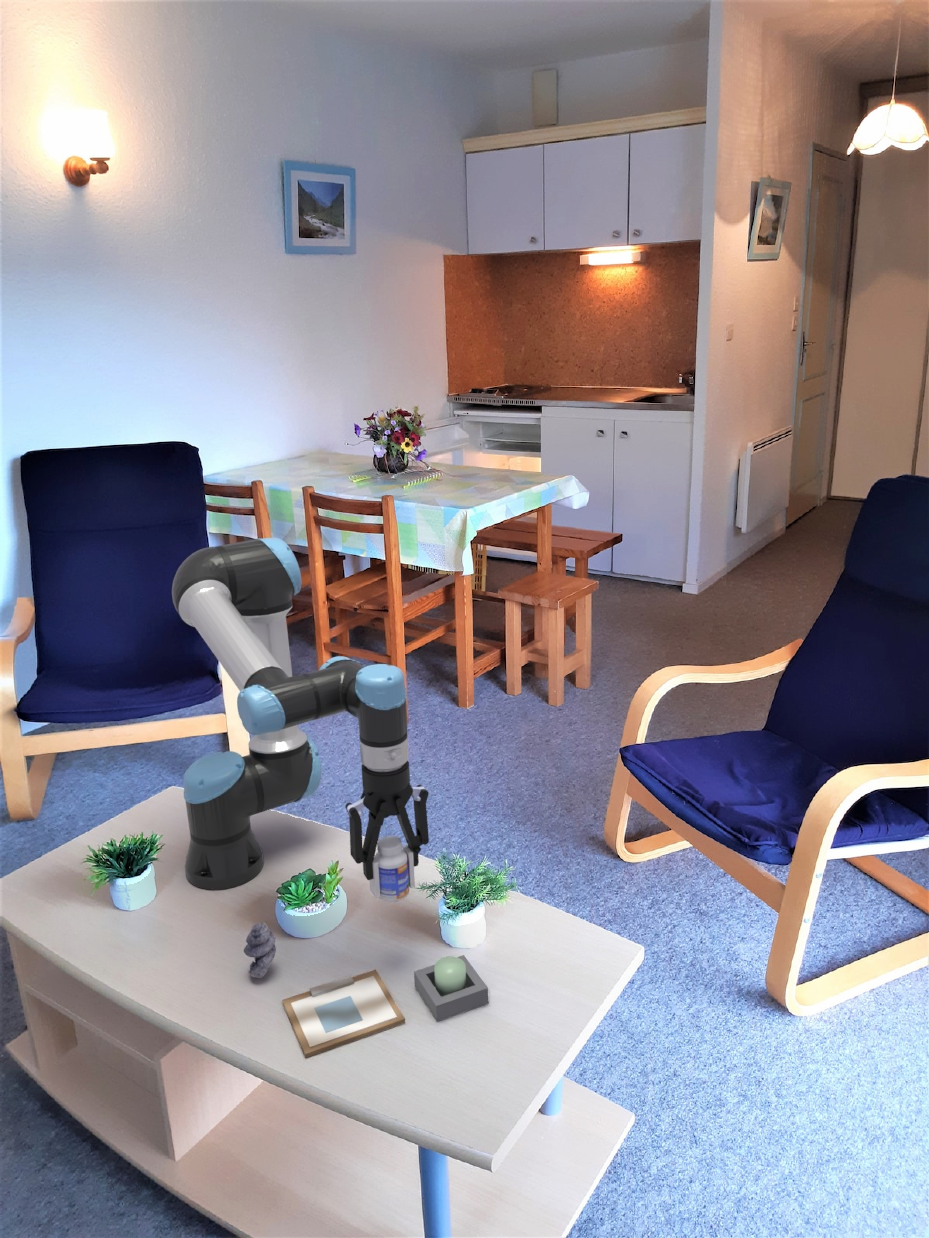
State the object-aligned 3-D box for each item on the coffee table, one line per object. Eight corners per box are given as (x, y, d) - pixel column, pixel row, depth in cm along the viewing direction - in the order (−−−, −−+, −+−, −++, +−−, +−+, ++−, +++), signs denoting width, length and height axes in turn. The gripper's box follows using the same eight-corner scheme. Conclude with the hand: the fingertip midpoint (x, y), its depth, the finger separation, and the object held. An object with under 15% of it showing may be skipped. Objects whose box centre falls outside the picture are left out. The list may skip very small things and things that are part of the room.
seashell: (245, 968, 161) (239, 918, 158) (277, 960, 163) (271, 910, 160) (249, 988, 156) (243, 937, 153) (281, 980, 158) (276, 929, 155)
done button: (430, 982, 154) (429, 962, 153) (458, 973, 156) (457, 952, 155) (442, 1001, 150) (442, 980, 149) (471, 991, 152) (470, 970, 151)
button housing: (414, 986, 156) (413, 971, 155) (464, 969, 159) (463, 954, 158) (436, 1021, 148) (436, 1005, 147) (488, 1003, 152) (488, 987, 151)
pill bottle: (405, 904, 154) (402, 852, 151) (373, 902, 155) (369, 850, 152) (412, 885, 159) (409, 834, 156) (381, 882, 160) (378, 832, 157)
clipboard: (282, 1003, 153) (281, 995, 152) (376, 973, 159) (375, 965, 159) (305, 1058, 142) (304, 1049, 141) (405, 1022, 148) (404, 1014, 147)
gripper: (337, 785, 143) (347, 916, 150) (448, 758, 150) (452, 884, 158) (321, 765, 149) (331, 892, 156) (428, 740, 157) (433, 862, 164)
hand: (392, 888), depth 157 cm, fingers closed on pill bottle, 5 cm apart
